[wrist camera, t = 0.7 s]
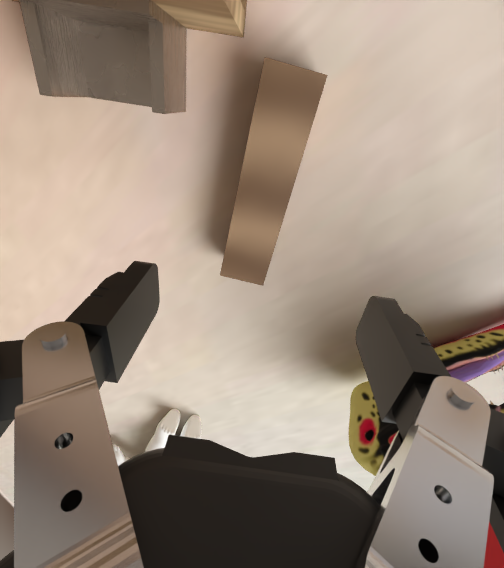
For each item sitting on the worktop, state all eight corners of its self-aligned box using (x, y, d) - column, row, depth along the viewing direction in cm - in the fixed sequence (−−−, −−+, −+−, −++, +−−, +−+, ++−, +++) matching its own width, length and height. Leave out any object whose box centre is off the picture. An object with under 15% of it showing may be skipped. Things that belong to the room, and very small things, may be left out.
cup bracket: (185, 111, 23) (153, 115, 17) (83, 95, 23) (16, 94, 17) (186, 28, 20) (148, -3, 14) (70, 9, 20) (-16, -29, 14)
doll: (244, 466, 40) (185, 564, 52) (247, 411, 48) (195, 507, 60) (103, 428, 37) (76, 540, 50) (132, 377, 46) (102, 484, 58)
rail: (266, 63, 21) (264, 57, 18) (319, 79, 21) (327, 75, 18) (226, 255, 30) (219, 275, 26) (264, 264, 30) (262, 285, 27)
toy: (592, 313, 30) (1004, 592, 13) (351, 401, 40) (406, 622, 23) (580, 262, 27) (1084, 531, 10) (324, 370, 37) (364, 596, 20)
